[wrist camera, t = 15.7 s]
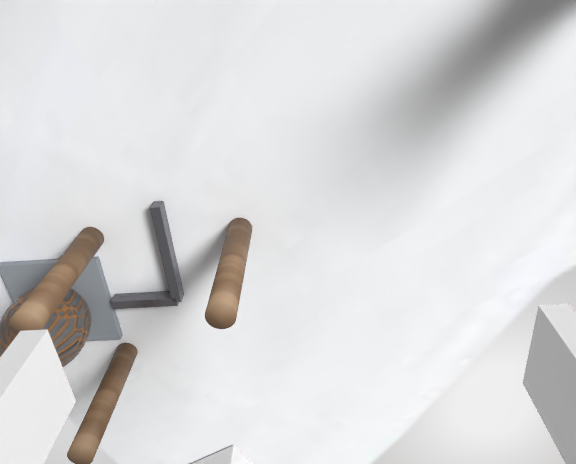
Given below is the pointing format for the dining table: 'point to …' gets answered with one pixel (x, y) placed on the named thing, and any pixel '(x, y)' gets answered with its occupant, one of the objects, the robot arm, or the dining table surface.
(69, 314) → the vase
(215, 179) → the dining table surface
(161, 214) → the grey l-shaped bracket
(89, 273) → the pad
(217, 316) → the posts
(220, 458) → the milk carton
